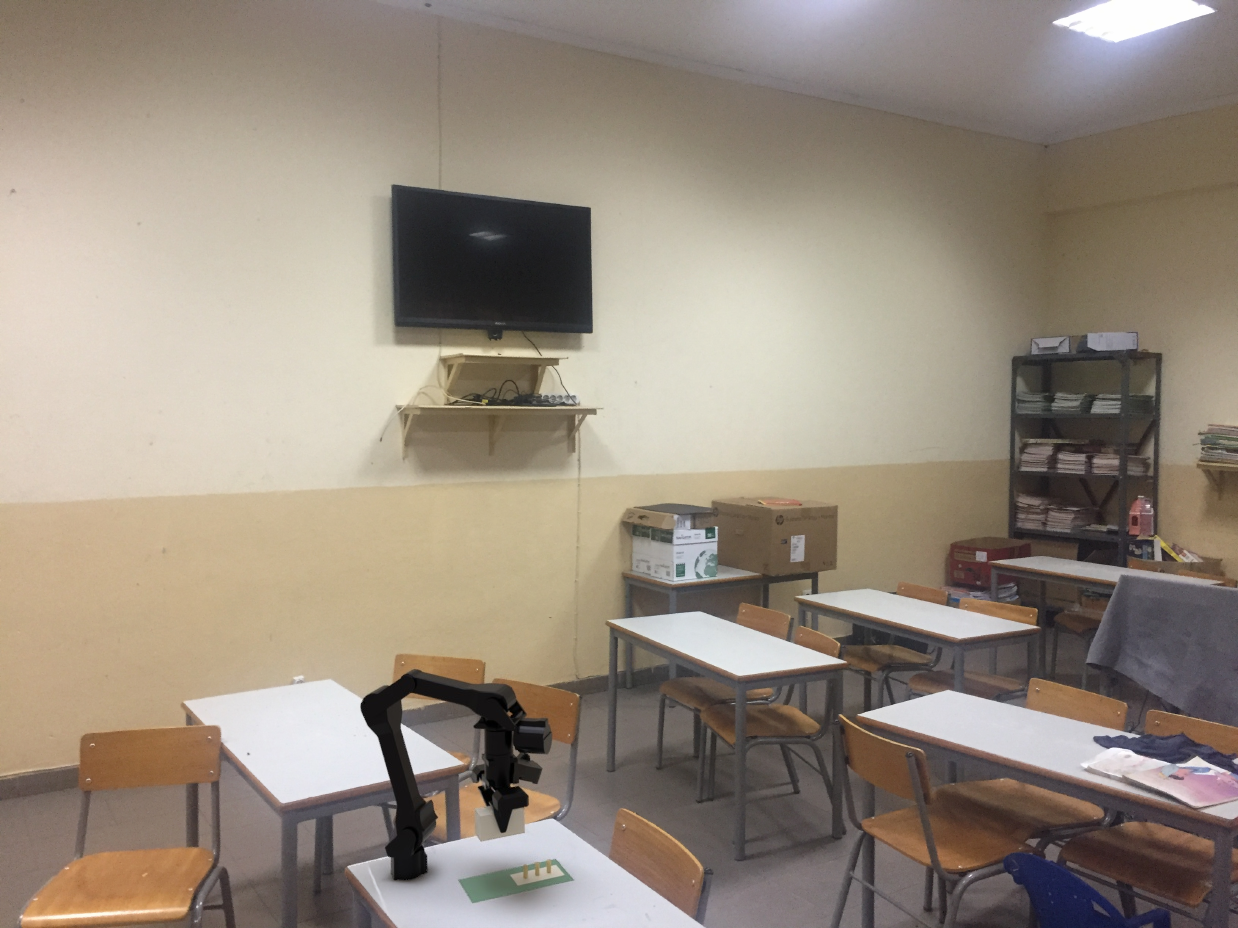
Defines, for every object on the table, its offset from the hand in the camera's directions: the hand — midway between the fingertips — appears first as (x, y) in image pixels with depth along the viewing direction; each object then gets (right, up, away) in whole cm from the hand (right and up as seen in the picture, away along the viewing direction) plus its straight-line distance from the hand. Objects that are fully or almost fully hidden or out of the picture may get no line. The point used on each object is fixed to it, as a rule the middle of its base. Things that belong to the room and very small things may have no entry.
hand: (499, 827), depth 183 cm
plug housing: (0, -1, 0) cm, 1 cm away
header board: (+3, -12, +2) cm, 13 cm away
